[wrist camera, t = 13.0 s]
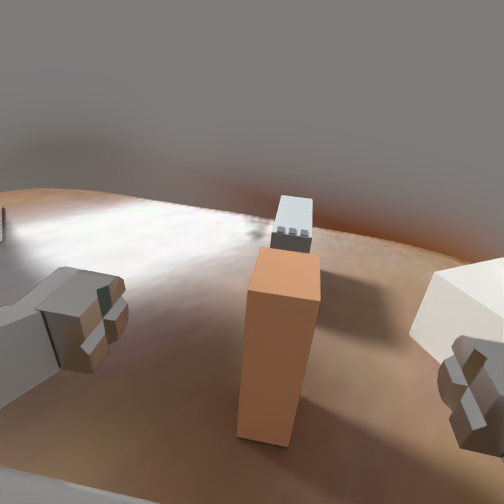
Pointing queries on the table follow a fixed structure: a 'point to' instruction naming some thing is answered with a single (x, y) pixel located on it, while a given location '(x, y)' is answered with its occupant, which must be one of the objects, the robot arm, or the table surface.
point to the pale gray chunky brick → (293, 225)
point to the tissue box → (461, 307)
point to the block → (277, 342)
